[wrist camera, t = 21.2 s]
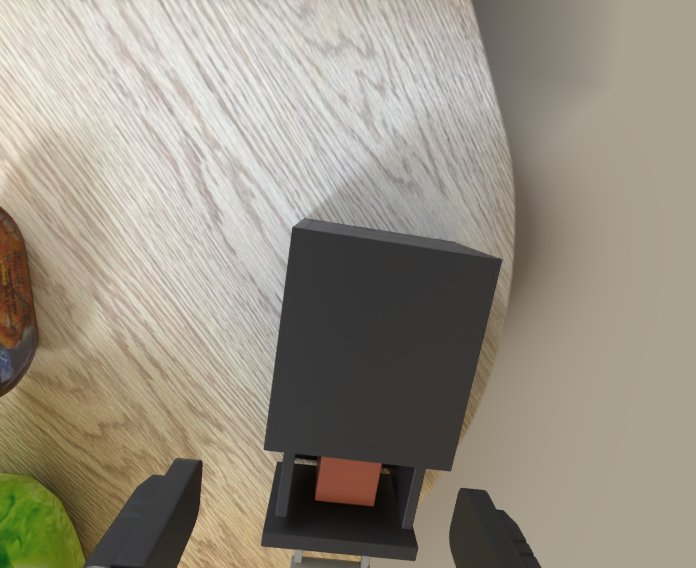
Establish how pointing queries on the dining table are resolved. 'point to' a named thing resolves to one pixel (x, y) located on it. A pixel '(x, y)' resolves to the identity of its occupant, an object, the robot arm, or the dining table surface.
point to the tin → (14, 307)
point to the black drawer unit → (377, 345)
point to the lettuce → (35, 527)
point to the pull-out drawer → (341, 517)
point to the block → (346, 481)
